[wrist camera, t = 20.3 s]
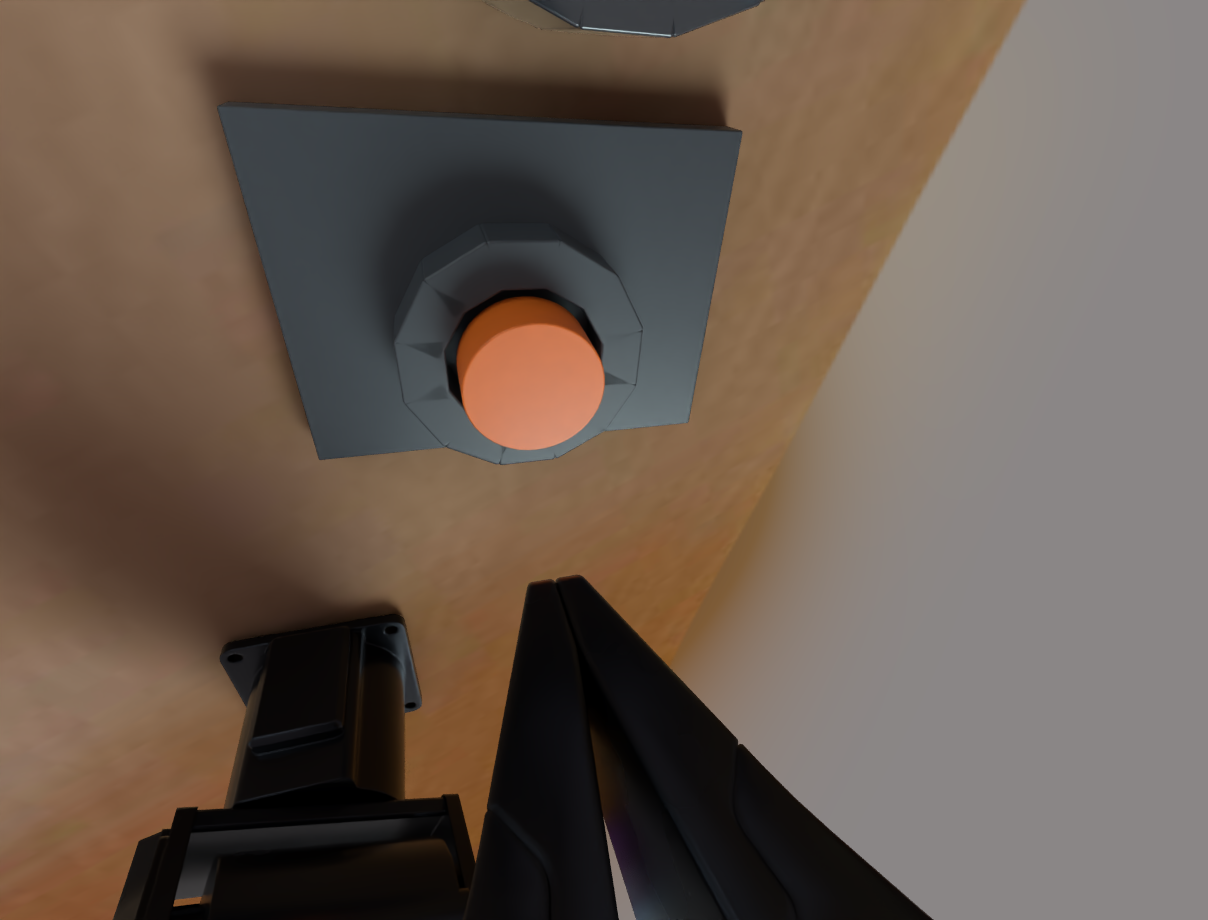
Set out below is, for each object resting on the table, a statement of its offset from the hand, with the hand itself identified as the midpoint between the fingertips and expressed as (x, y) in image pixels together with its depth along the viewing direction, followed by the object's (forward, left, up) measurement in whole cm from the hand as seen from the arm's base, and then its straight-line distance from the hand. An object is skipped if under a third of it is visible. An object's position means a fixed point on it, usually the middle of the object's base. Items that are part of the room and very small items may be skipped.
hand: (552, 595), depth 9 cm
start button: (0, -1, -8) cm, 8 cm away
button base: (+1, -1, -10) cm, 10 cm away
